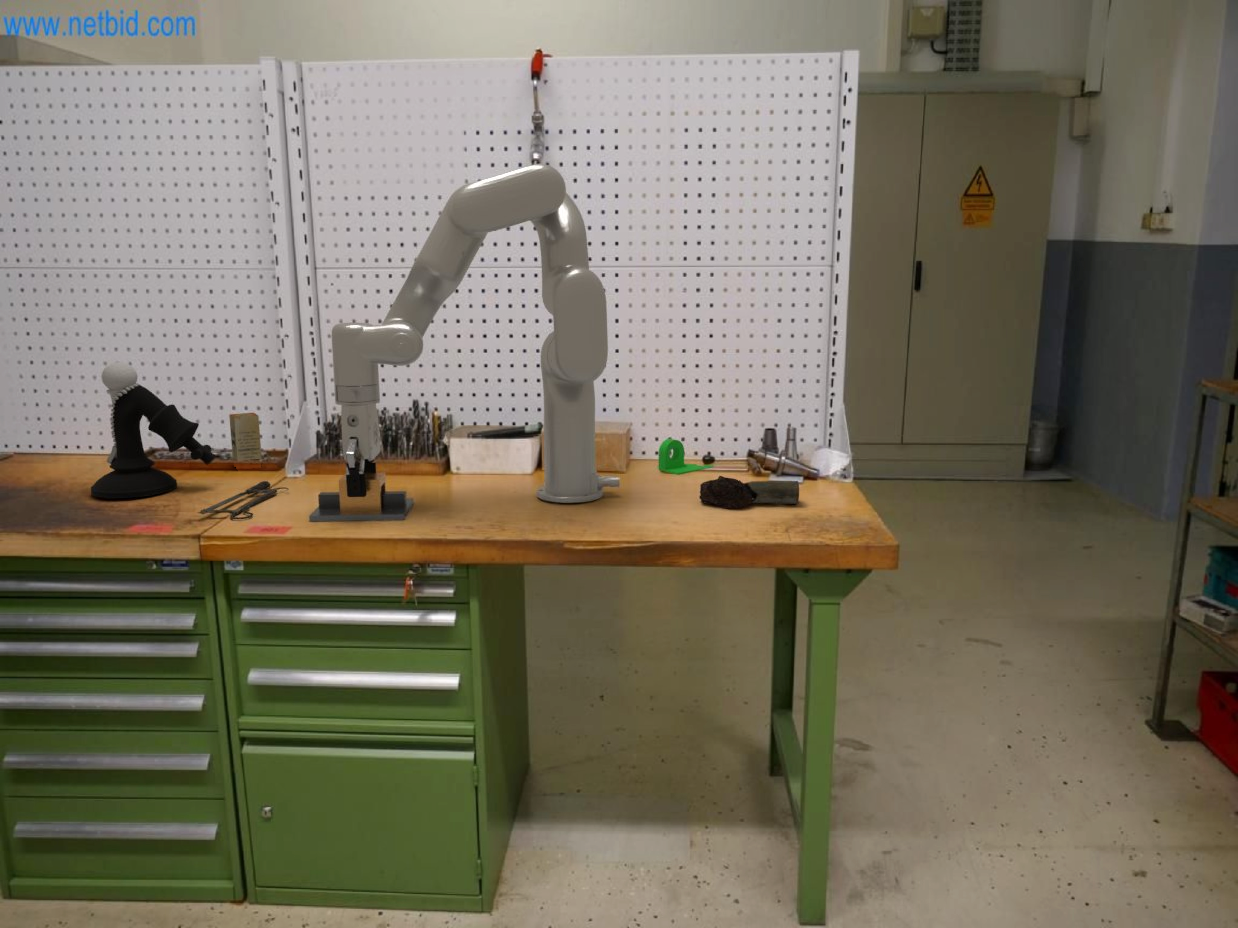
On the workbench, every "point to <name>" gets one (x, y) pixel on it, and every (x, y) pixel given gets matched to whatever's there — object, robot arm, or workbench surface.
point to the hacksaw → (254, 489)
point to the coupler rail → (392, 509)
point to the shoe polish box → (245, 436)
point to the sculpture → (128, 453)
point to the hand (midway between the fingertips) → (362, 490)
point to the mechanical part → (675, 458)
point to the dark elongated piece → (748, 492)
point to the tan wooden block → (370, 501)
